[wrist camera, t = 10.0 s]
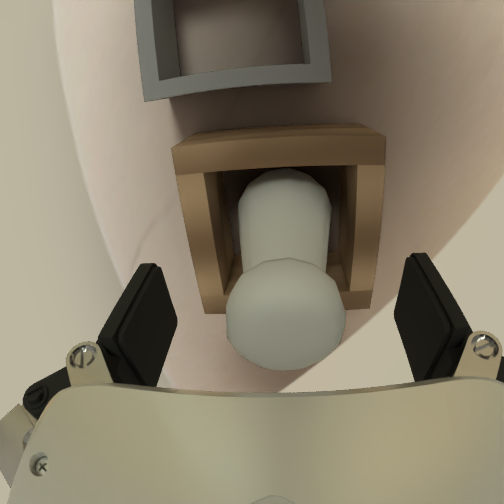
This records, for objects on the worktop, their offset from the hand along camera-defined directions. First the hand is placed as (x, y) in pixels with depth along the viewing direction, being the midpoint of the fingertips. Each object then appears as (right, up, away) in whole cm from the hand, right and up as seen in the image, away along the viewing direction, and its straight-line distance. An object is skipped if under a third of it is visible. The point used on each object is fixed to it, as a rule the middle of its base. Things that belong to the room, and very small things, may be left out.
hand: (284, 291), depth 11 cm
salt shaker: (+1, +5, +10) cm, 11 cm away
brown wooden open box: (+1, +5, +10) cm, 11 cm away
